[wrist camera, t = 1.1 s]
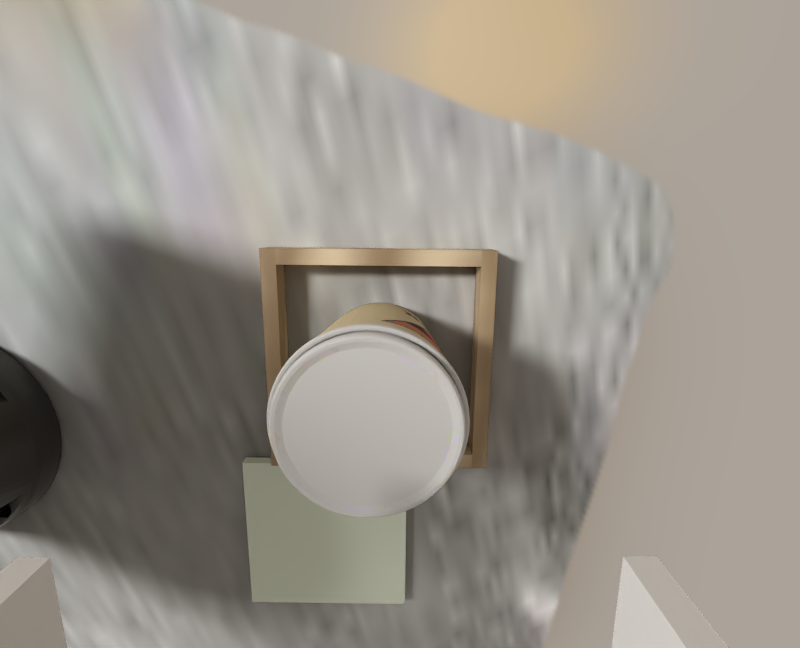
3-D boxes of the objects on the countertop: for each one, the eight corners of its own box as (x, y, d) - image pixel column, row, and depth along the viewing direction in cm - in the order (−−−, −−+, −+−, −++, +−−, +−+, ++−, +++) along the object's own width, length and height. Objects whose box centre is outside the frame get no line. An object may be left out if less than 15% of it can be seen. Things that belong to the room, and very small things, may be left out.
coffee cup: (464, 391, 32) (500, 485, 20) (344, 434, 33) (312, 550, 21) (418, 269, 30) (428, 296, 18) (292, 318, 31) (225, 374, 19)
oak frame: (279, 451, 33) (271, 465, 31) (268, 247, 30) (259, 248, 28) (480, 454, 33) (485, 468, 31) (491, 249, 30) (498, 250, 28)
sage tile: (255, 593, 35) (252, 602, 35) (245, 457, 33) (242, 462, 32) (404, 595, 35) (404, 603, 35) (406, 459, 33) (406, 464, 32)
